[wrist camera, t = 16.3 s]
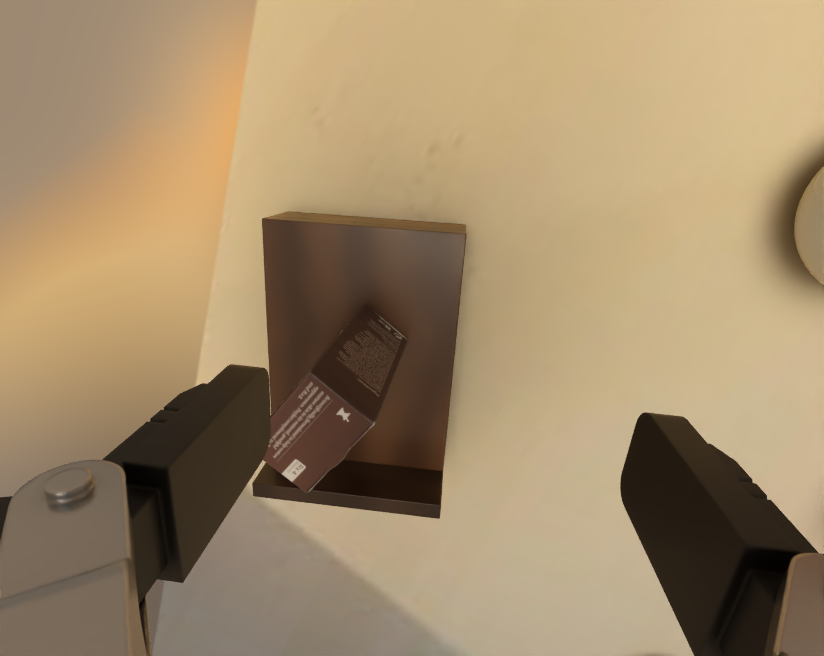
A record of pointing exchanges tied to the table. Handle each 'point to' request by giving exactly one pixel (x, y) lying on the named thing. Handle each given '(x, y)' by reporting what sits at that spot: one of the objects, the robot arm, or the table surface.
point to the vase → (811, 227)
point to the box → (335, 400)
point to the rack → (329, 314)
